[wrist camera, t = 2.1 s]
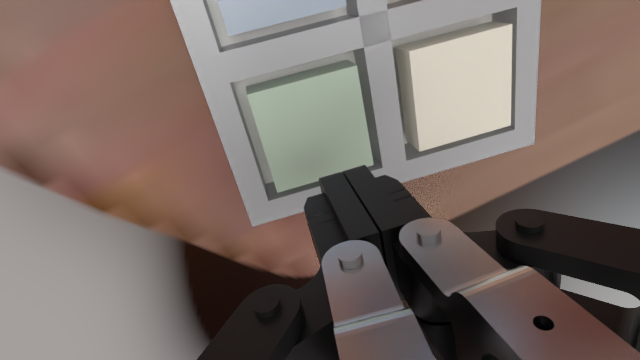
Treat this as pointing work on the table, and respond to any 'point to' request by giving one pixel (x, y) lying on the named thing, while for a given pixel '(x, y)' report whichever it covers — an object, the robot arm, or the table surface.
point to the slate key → (269, 12)
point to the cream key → (456, 84)
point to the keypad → (374, 75)
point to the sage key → (311, 123)
